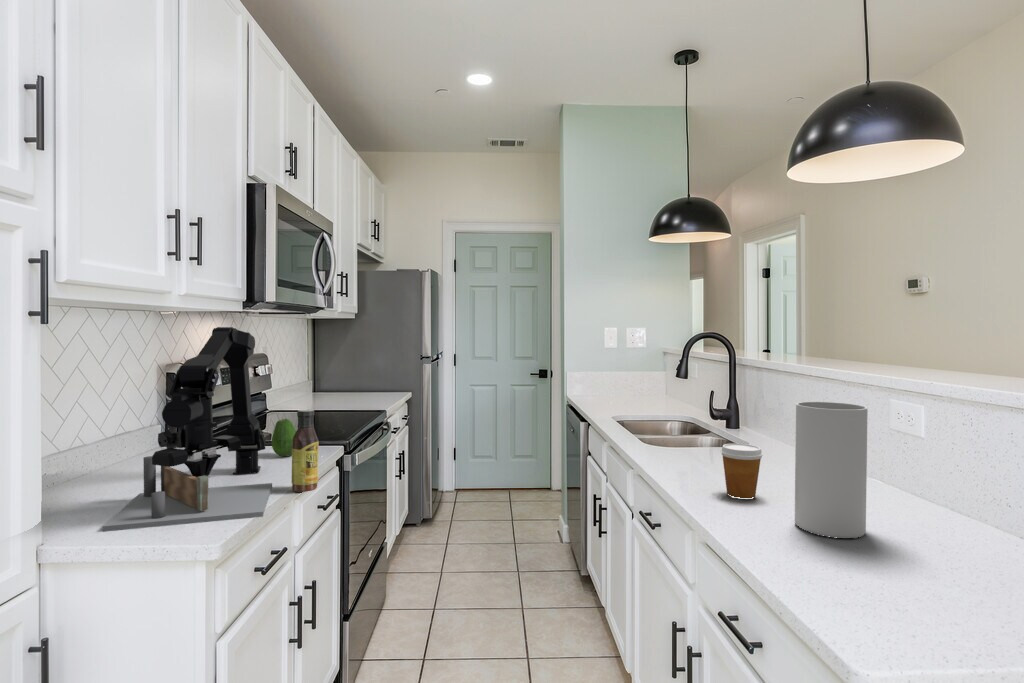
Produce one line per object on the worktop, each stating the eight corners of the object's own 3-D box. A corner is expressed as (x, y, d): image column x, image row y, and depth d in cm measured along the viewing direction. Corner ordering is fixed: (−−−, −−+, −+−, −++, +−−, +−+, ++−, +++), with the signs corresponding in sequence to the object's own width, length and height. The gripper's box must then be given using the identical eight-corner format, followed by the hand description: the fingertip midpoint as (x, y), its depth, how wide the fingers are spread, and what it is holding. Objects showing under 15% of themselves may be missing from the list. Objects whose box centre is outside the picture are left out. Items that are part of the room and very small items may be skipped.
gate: (159, 492, 132) (159, 462, 132) (168, 490, 134) (168, 461, 134) (200, 511, 119) (199, 478, 118) (209, 509, 120) (208, 476, 120)
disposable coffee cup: (713, 496, 136) (714, 447, 135) (729, 488, 143) (729, 441, 142) (754, 505, 129) (754, 453, 129) (768, 496, 136) (768, 446, 136)
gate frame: (140, 497, 133) (139, 455, 133) (272, 486, 143) (272, 447, 143) (102, 531, 111) (102, 480, 110) (263, 516, 120) (262, 469, 120)
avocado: (276, 454, 181) (275, 417, 180) (301, 453, 181) (301, 416, 181) (268, 459, 173) (267, 421, 172) (294, 459, 174) (294, 420, 173)
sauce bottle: (309, 493, 137) (309, 412, 136) (286, 492, 138) (286, 411, 138) (323, 486, 143) (323, 408, 143) (301, 485, 144) (301, 408, 144)
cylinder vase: (783, 518, 120) (785, 401, 119) (843, 519, 119) (844, 402, 119) (813, 540, 107) (815, 409, 107) (880, 541, 107) (881, 410, 107)
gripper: (206, 411, 138) (208, 473, 139) (132, 424, 121) (135, 496, 121) (241, 413, 134) (243, 477, 135) (170, 427, 117) (172, 501, 117)
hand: (200, 487), depth 127 cm, fingers closed
